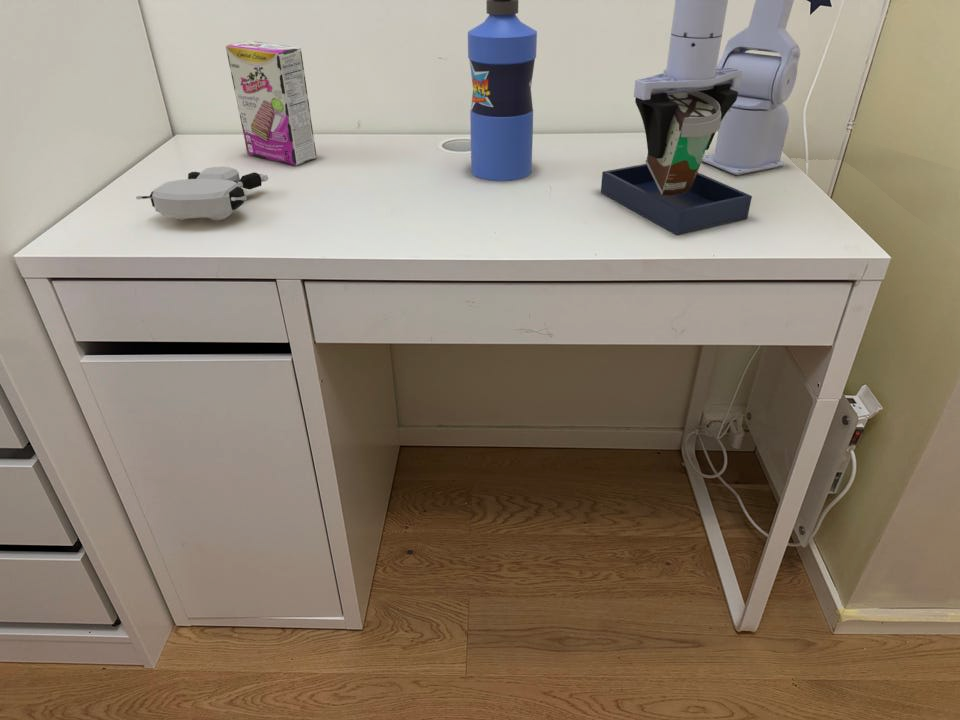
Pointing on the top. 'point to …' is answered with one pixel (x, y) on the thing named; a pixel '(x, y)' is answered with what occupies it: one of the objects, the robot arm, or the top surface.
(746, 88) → the robot arm
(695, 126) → the food container
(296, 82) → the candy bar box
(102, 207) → the top surface
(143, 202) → the top surface
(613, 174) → the rectangular tray
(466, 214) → the top surface
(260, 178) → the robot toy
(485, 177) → the water bottle
